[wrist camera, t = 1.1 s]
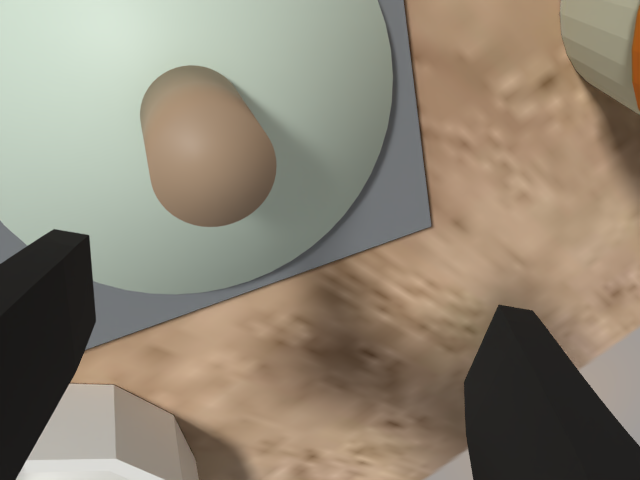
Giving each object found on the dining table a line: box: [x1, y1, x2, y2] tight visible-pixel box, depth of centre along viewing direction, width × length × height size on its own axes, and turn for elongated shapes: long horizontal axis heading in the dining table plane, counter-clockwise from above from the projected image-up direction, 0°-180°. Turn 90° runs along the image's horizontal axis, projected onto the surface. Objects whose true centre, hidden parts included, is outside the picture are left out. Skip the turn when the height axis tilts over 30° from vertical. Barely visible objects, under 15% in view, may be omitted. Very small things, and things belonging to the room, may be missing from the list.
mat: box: [0, 0, 431, 350], centre depth 21 cm, size 16×16×1 cm
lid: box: [0, 0, 393, 294], centre depth 18 cm, size 14×14×6 cm
